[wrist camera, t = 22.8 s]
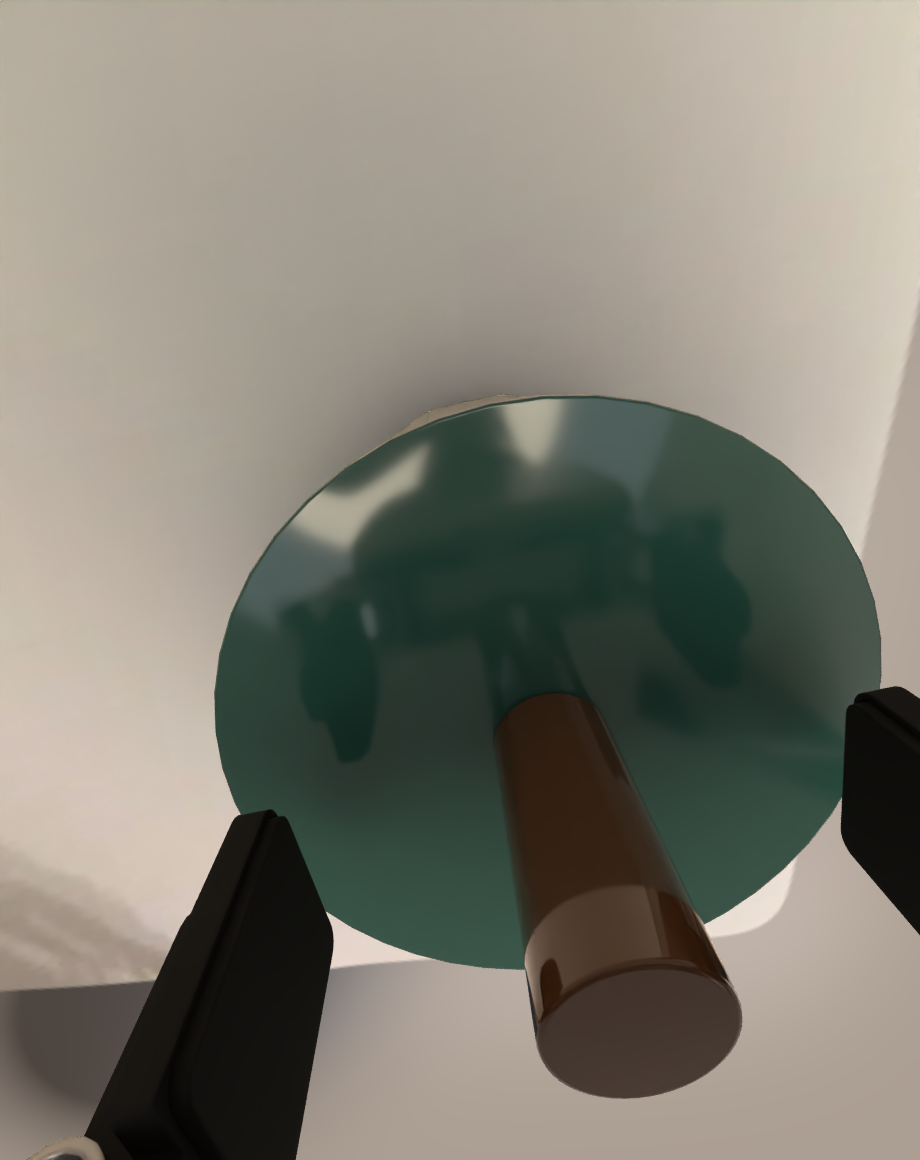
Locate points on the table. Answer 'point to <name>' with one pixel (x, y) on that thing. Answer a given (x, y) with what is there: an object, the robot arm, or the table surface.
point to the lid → (555, 707)
